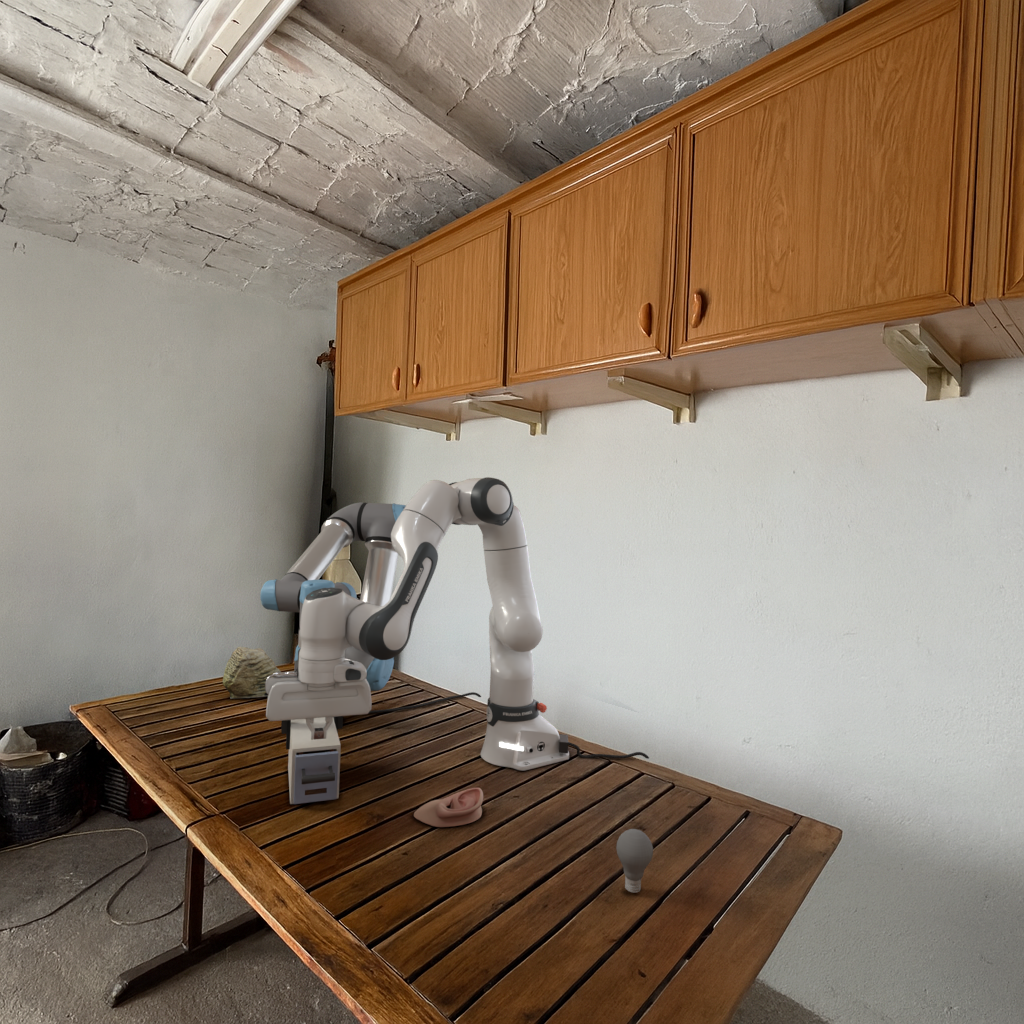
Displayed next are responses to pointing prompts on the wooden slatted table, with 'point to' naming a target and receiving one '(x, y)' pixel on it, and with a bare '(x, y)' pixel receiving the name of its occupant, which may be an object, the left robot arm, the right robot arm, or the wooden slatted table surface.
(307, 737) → the cabinet
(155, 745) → the wooden slatted table surface
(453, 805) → the anatomical model
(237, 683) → the fossil
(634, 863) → the light bulb
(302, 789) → the drawer
